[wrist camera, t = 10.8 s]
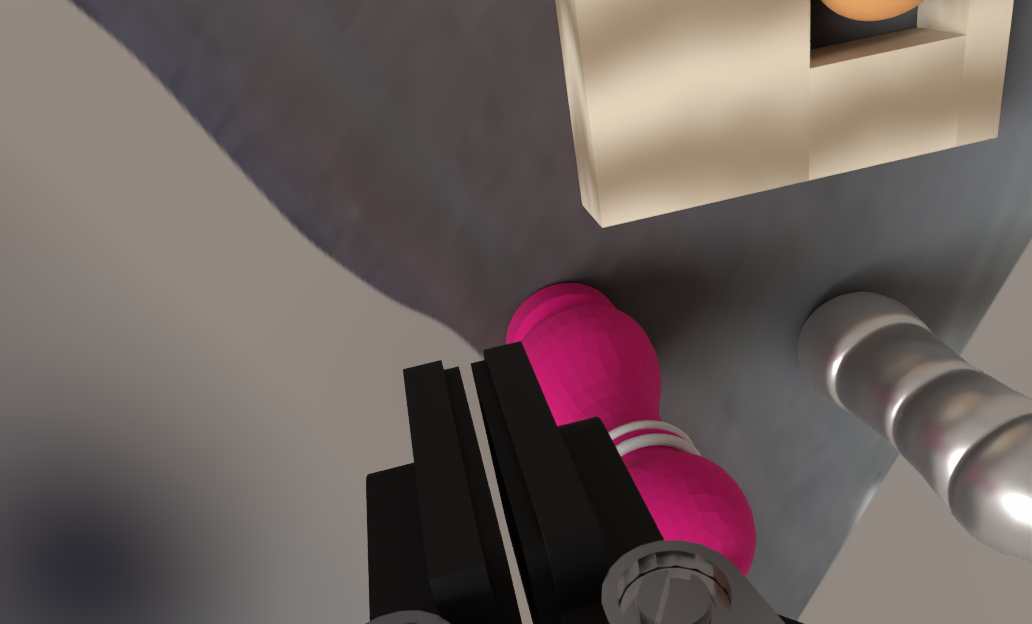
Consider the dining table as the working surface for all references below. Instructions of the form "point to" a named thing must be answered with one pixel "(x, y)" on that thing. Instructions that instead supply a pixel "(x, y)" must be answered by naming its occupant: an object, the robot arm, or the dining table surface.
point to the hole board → (764, 96)
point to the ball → (871, 8)
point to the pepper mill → (630, 414)
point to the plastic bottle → (929, 411)
